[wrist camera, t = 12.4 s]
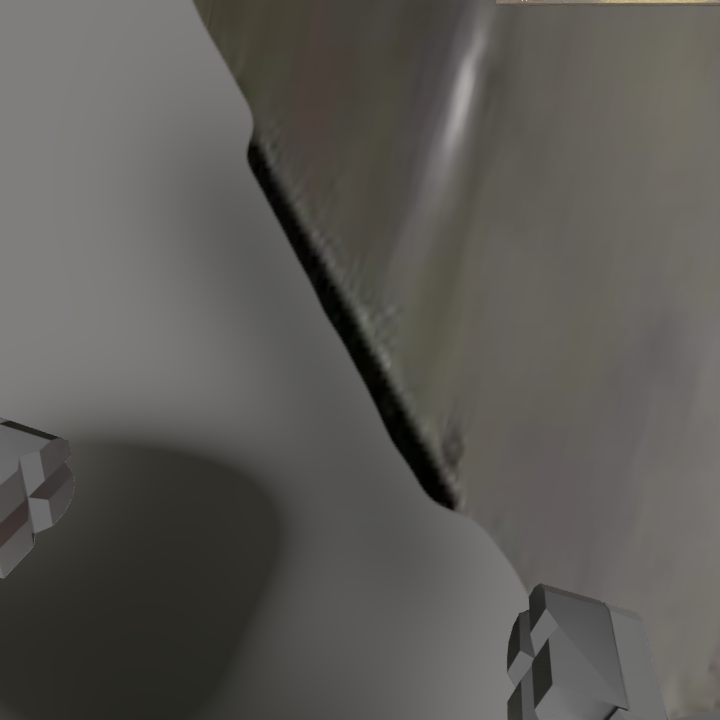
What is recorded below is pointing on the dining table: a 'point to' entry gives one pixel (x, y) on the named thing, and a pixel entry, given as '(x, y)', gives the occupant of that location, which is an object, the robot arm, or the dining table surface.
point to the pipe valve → (607, 3)
